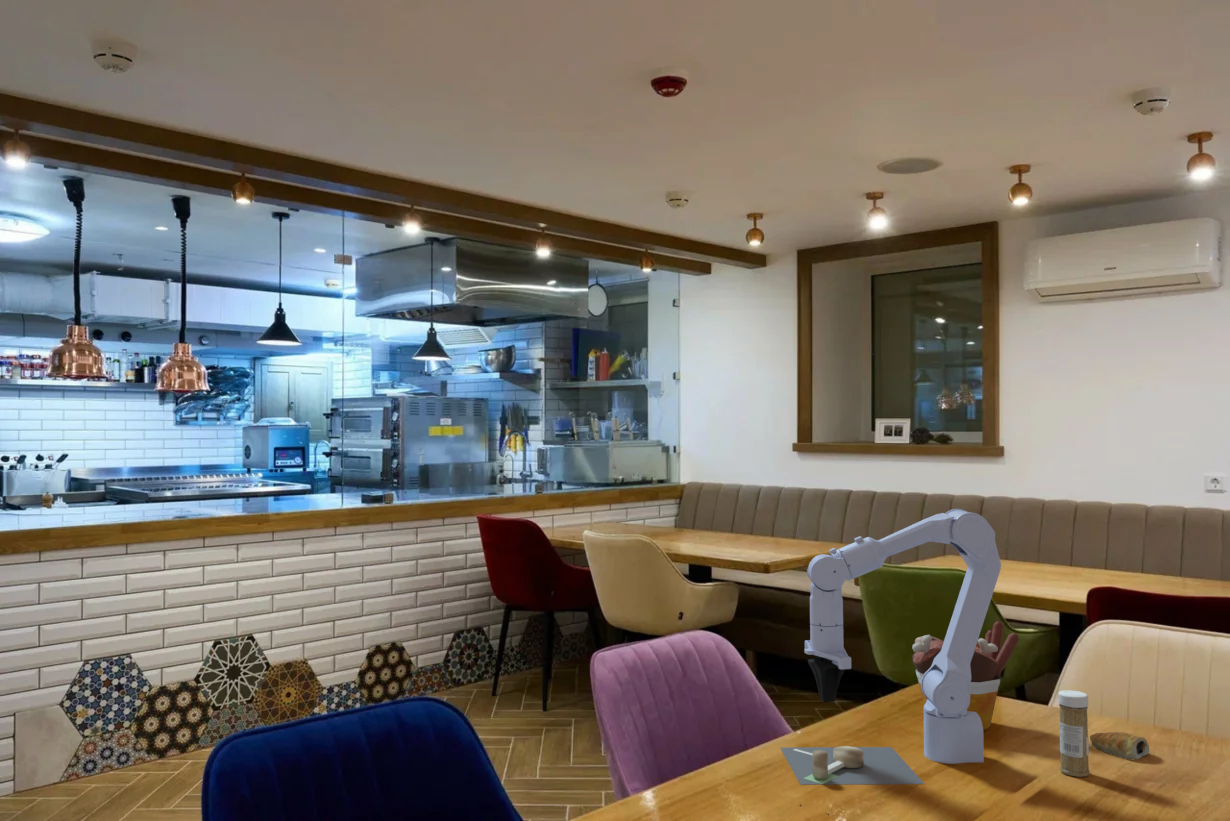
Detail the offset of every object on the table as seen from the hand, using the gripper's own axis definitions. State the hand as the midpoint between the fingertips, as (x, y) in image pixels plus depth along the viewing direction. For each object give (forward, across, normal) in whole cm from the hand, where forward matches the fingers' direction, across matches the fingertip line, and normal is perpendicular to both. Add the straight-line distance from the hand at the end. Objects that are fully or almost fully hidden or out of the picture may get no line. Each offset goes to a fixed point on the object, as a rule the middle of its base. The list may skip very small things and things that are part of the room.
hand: (827, 701), depth 167 cm
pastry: (+11, +8, +53) cm, 55 cm away
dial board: (+10, +6, +1) cm, 12 cm away
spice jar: (+11, +16, +38) cm, 42 cm away
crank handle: (+9, +8, -3) cm, 12 cm away
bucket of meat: (+11, -13, +35) cm, 39 cm away
